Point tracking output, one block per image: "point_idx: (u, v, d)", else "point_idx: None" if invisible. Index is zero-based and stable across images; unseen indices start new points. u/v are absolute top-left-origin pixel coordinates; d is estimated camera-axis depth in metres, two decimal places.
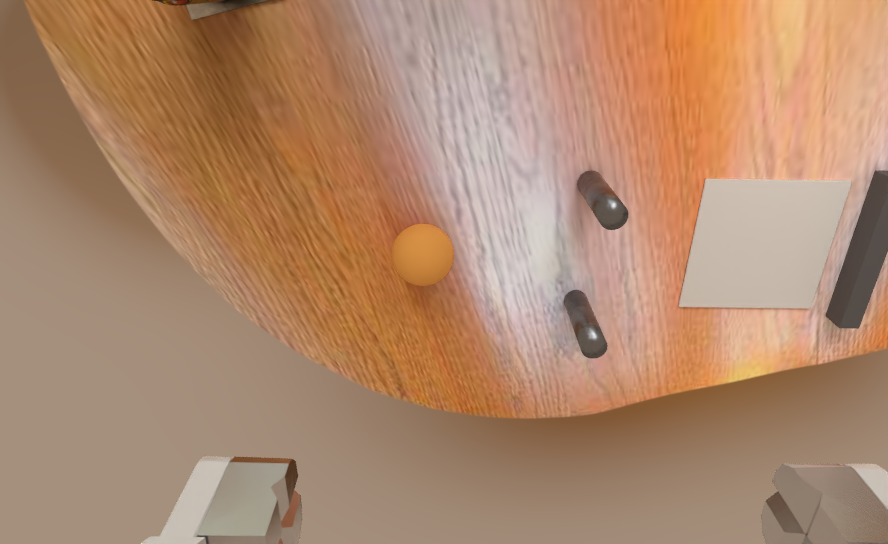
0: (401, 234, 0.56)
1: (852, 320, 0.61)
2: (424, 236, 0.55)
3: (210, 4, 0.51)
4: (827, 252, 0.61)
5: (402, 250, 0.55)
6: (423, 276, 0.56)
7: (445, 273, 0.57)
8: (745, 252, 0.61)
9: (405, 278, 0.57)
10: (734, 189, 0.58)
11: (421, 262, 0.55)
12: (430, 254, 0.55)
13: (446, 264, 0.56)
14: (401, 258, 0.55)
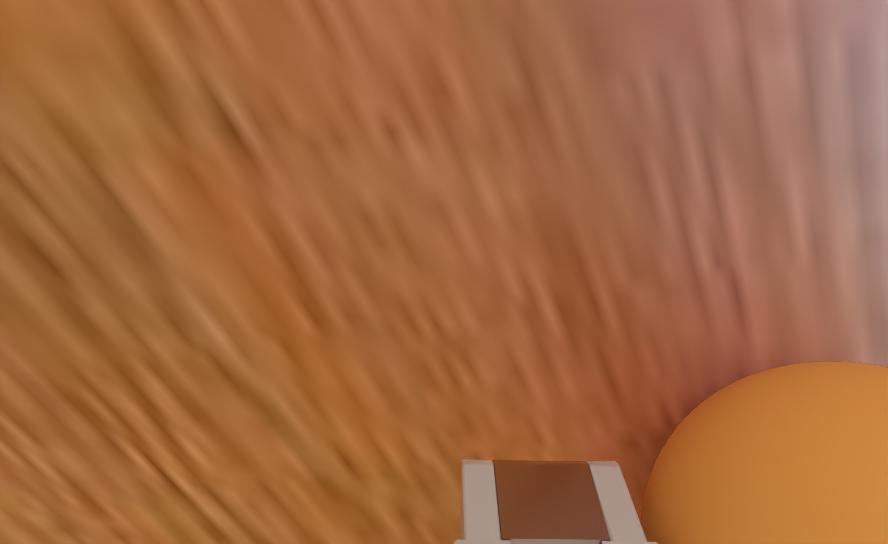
0: (764, 477, 0.08)
1: None
2: None
3: None
4: None
5: None
6: None
7: None
8: None
9: None
10: None
11: None
12: None
13: None
14: None
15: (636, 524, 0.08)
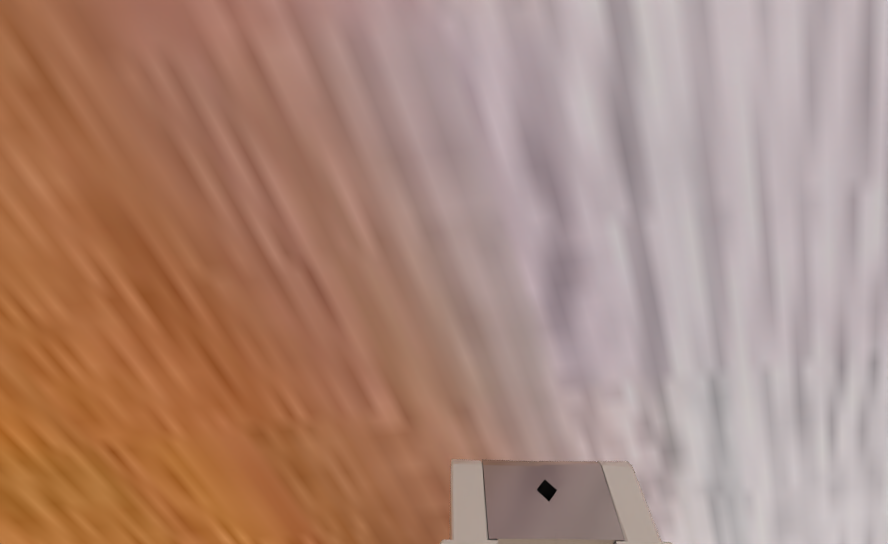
0: None
1: None
2: None
3: None
4: None
5: None
6: None
7: None
8: None
9: None
10: None
11: None
12: None
13: None
14: None
15: (650, 524, 0.08)
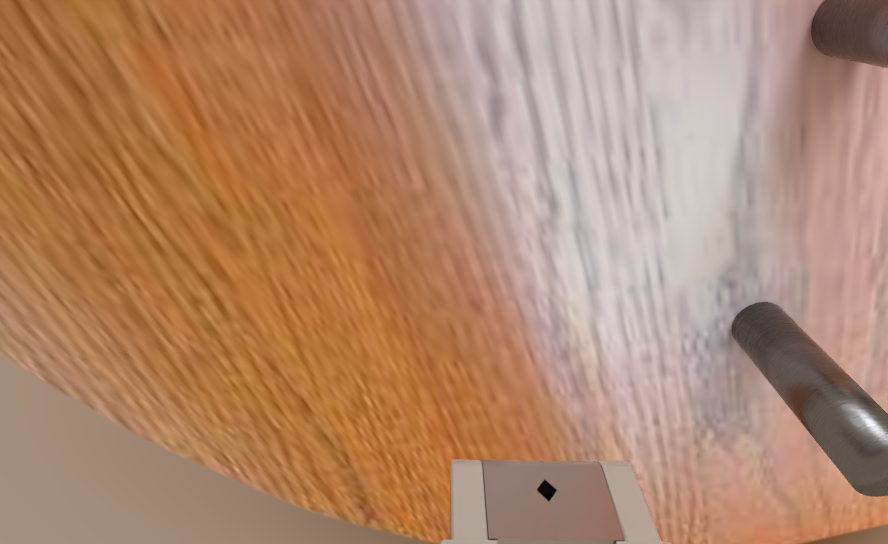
0: None
1: None
2: None
3: None
4: None
5: None
6: None
7: None
8: None
9: None
10: None
11: None
12: None
13: None
14: None
15: (650, 524, 0.08)
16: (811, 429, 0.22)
